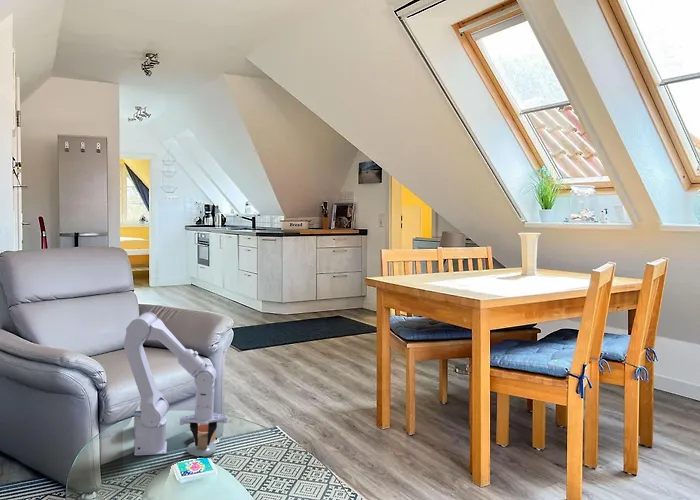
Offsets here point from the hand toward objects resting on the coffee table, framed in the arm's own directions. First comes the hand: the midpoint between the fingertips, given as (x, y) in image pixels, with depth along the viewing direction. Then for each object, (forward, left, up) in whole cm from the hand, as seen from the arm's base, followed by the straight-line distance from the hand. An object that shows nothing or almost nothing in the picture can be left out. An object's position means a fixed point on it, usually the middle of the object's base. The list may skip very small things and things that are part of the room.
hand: (202, 444), depth 186 cm
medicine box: (-19, +18, -3) cm, 26 cm away
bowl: (+1, +9, -3) cm, 10 cm away
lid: (0, 0, -2) cm, 2 cm away
